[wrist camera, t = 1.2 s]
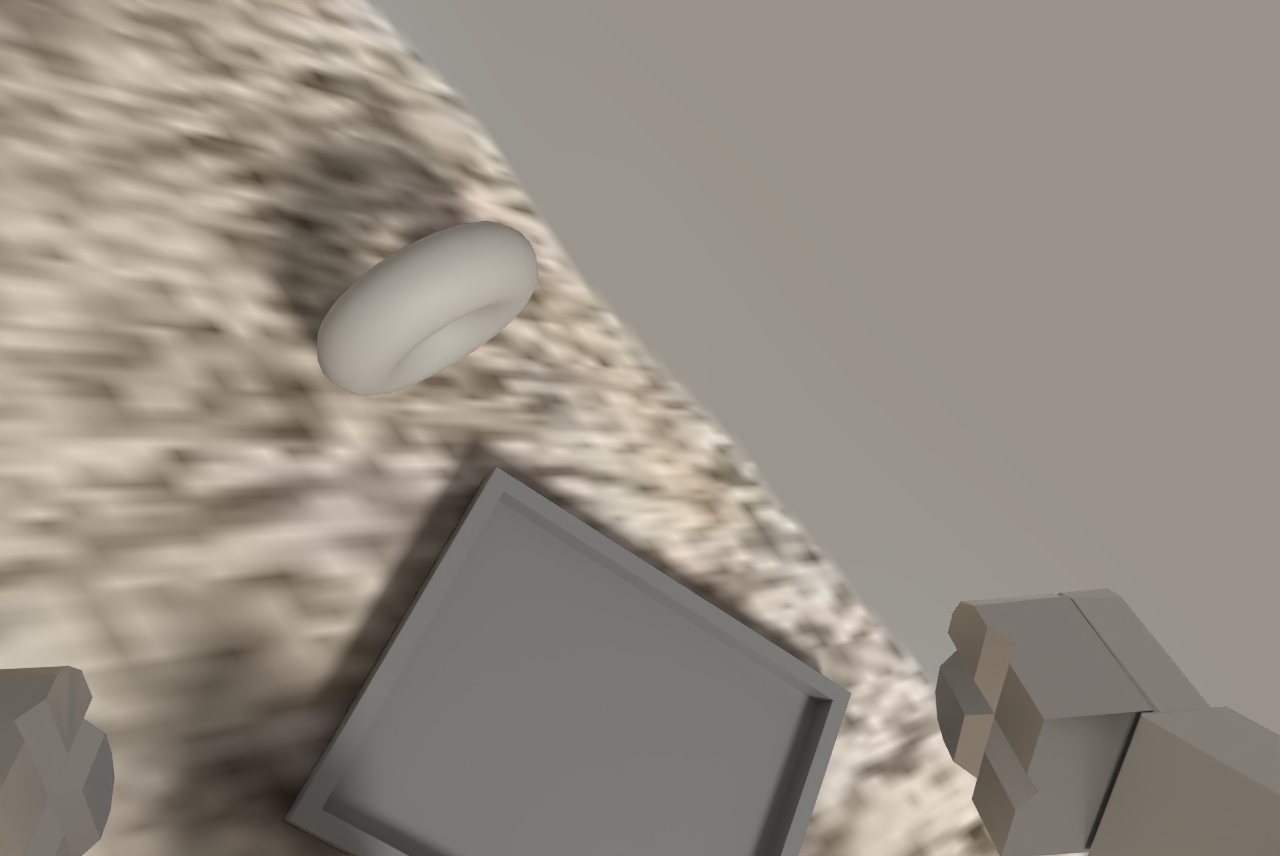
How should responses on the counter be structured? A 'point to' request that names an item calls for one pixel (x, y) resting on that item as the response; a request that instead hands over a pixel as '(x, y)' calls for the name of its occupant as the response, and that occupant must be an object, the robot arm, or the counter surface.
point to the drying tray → (569, 710)
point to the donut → (426, 307)
